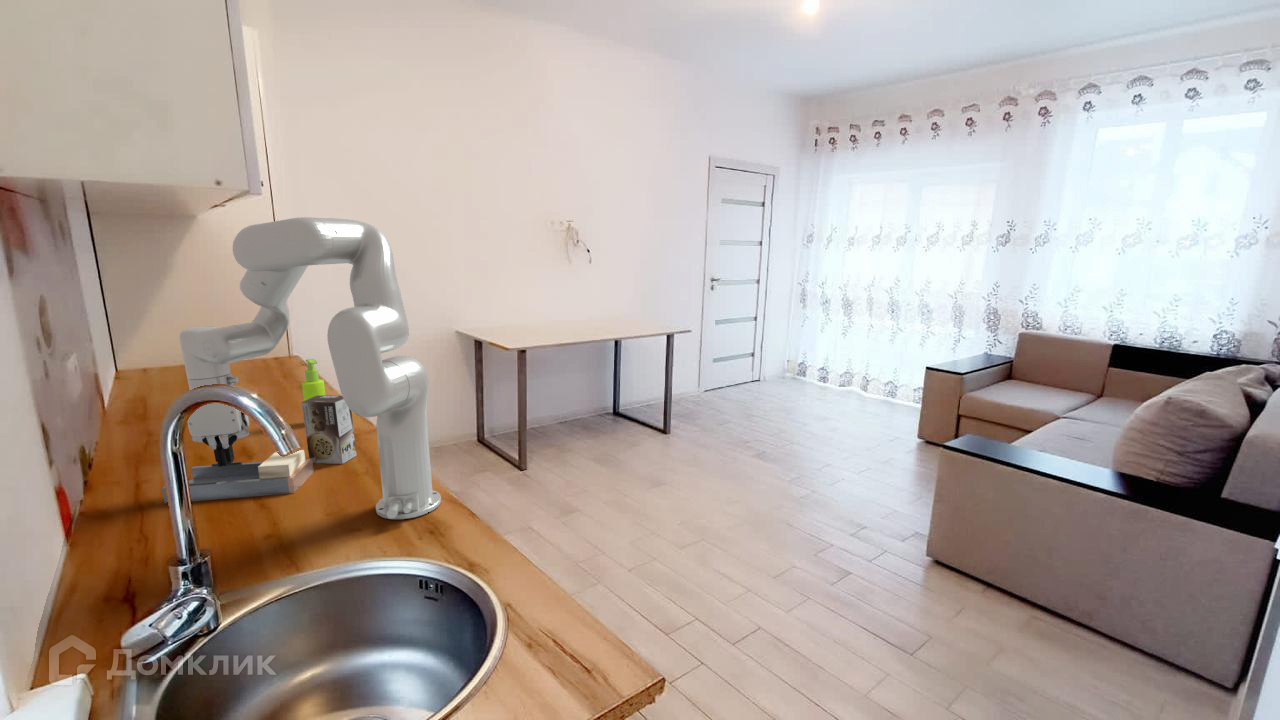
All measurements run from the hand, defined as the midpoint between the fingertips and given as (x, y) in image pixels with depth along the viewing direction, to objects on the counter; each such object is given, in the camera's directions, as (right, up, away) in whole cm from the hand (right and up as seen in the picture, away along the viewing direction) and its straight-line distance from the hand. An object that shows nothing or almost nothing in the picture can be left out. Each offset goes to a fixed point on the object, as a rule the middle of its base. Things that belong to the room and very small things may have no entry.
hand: (226, 464), depth 126 cm
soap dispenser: (-6, +4, +47) cm, 48 cm away
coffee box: (+14, -2, +18) cm, 23 cm away
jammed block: (+11, -4, +3) cm, 12 cm away
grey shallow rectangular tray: (+2, -6, +2) cm, 6 cm away
